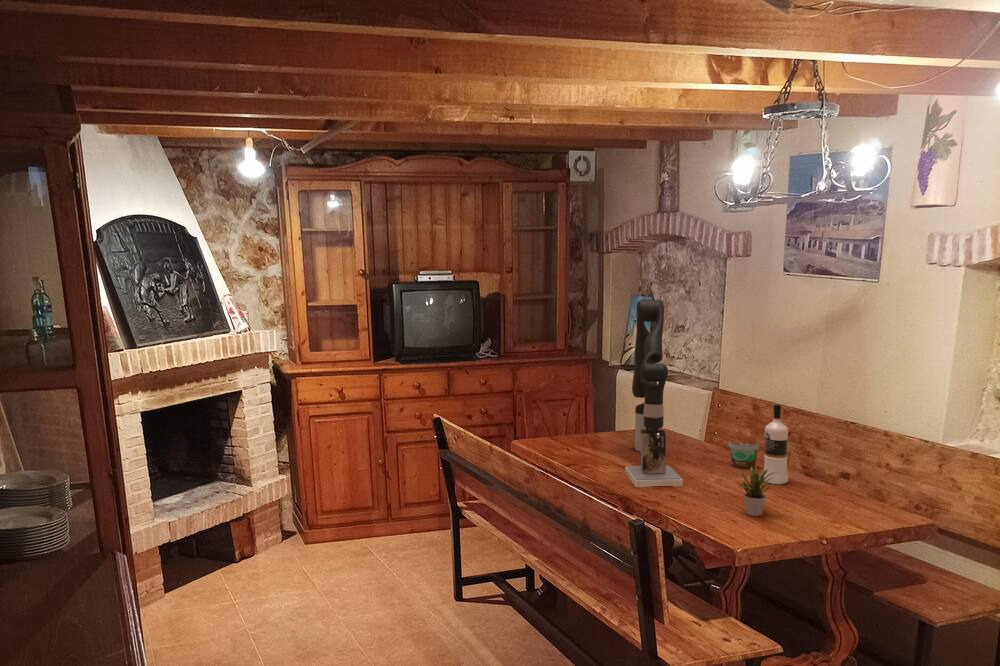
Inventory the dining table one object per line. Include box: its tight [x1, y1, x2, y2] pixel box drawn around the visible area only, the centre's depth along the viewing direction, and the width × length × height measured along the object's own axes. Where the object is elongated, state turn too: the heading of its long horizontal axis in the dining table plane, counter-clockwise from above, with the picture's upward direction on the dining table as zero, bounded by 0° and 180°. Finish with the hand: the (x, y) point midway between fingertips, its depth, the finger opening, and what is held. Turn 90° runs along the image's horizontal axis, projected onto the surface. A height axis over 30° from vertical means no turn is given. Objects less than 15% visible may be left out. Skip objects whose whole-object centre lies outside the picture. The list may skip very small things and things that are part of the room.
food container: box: [727, 441, 761, 470], centre depth 287 cm, size 12×6×10 cm, turn 68°
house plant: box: [735, 465, 777, 517], centre depth 233 cm, size 14×14×16 cm
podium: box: [624, 464, 684, 488], centre depth 273 cm, size 18×18×3 cm
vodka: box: [762, 404, 789, 485], centre depth 267 cm, size 9×9×30 cm
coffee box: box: [640, 429, 667, 474], centre depth 272 cm, size 9×6×16 cm
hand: (653, 455), depth 272 cm, fingers open, 8 cm apart
